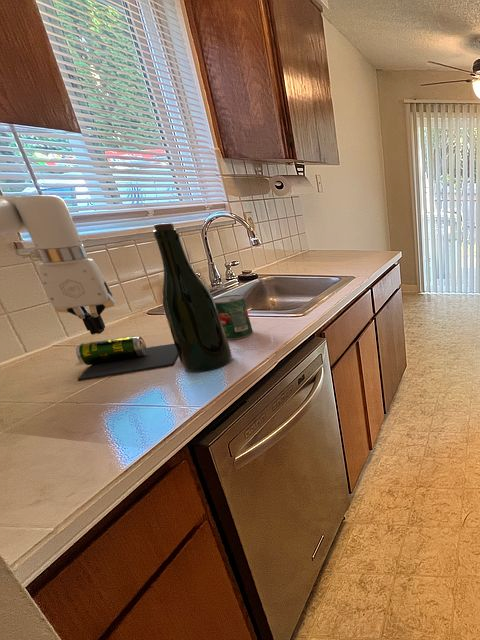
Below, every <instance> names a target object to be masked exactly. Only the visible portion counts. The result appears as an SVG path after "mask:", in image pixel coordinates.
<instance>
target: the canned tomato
mask: <svg viewBox="0 0 480 640" xmlns="http://www.w3.org/2000/svg"><path fill="white" fill-rule="evenodd" d="M213 299H214V302H215V304H216V307H217V310H218V313H219V316H220V319H221V322H222V325H223V328H224V331H225V334H226V337H227V340H228V341H233V340H239V339H244V338H247V337H249V336H252V335H253V333H254V330H253V326H252V323H251V320H250V315H249V312H248V308H247V304H246V301H245V297H244V295H242V294H229V295H223V296H222V295H221V296H218V297H215V298H213Z"/></svg>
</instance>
